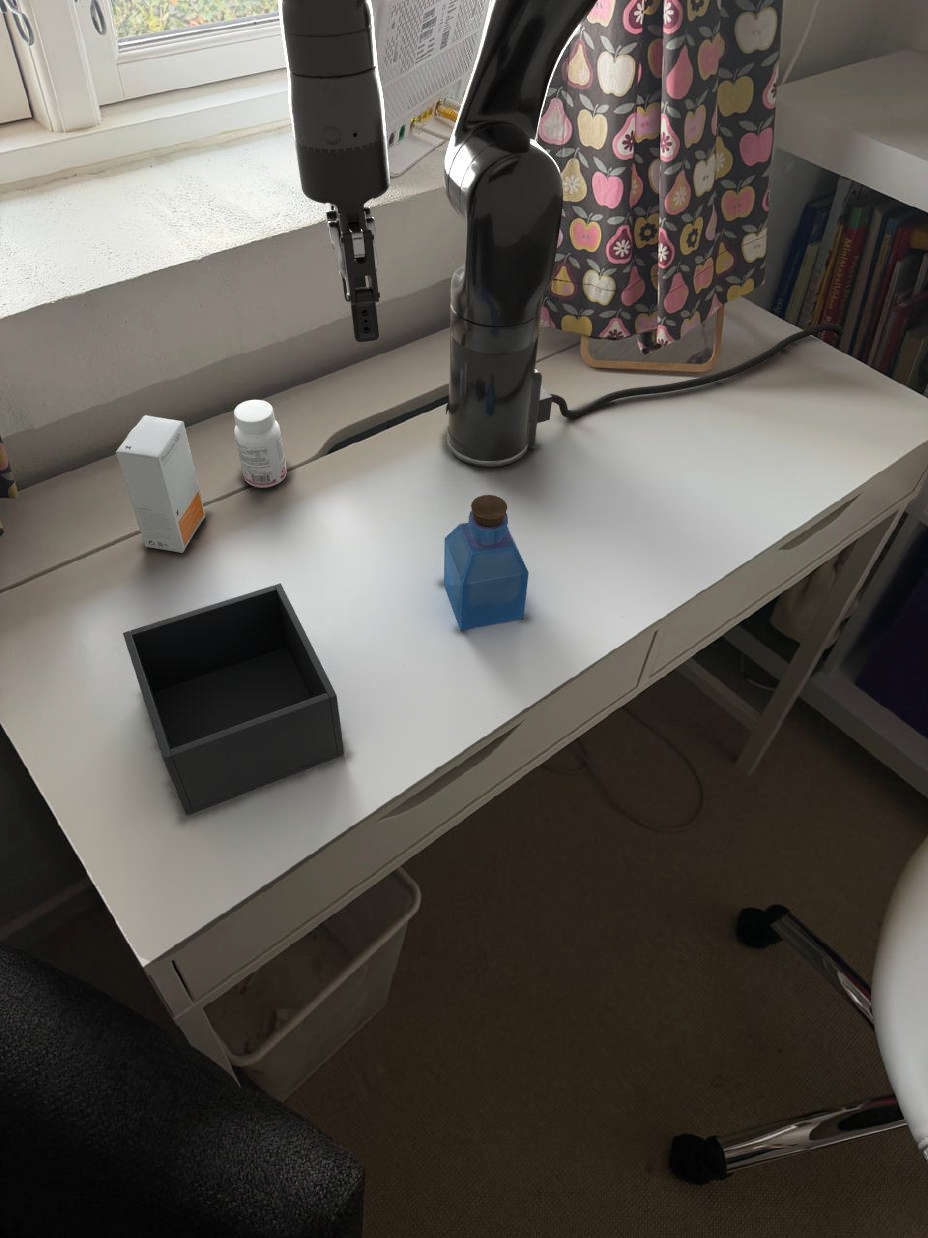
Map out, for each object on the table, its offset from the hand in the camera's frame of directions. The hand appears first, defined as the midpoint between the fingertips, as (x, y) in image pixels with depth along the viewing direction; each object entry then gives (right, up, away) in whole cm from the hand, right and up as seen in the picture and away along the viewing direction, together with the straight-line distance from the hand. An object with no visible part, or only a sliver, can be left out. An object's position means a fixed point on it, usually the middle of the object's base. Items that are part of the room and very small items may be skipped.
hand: (361, 318), depth 83 cm
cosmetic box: (-20, -20, +7) cm, 29 cm away
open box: (-9, -37, -9) cm, 39 cm away
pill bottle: (-12, -13, +14) cm, 22 cm away
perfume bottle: (+12, -27, +2) cm, 29 cm away
